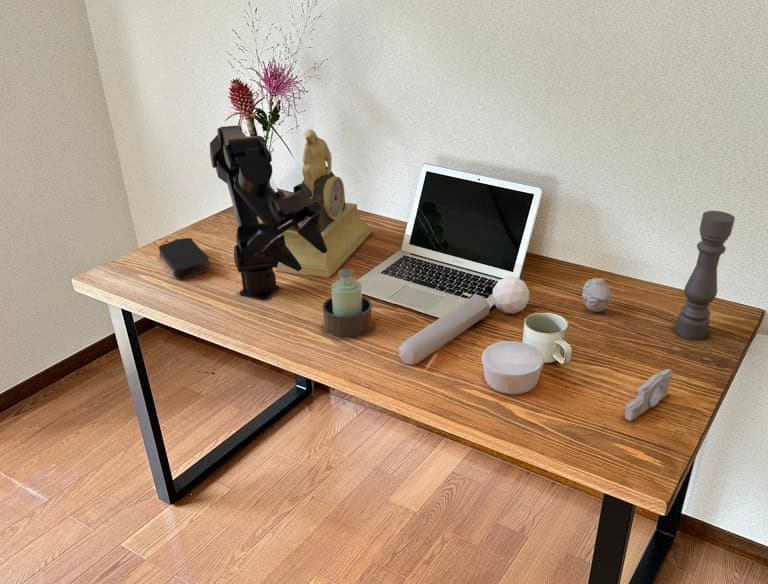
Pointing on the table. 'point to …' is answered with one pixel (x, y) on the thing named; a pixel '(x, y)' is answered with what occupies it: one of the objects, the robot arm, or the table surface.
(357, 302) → the bottle
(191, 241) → the black sponge
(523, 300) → the ball
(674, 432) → the table surface
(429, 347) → the tube
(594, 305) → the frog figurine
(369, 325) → the cup
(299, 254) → the decorative clock
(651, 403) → the garden wall model
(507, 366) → the ramekin
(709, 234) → the candle holder
